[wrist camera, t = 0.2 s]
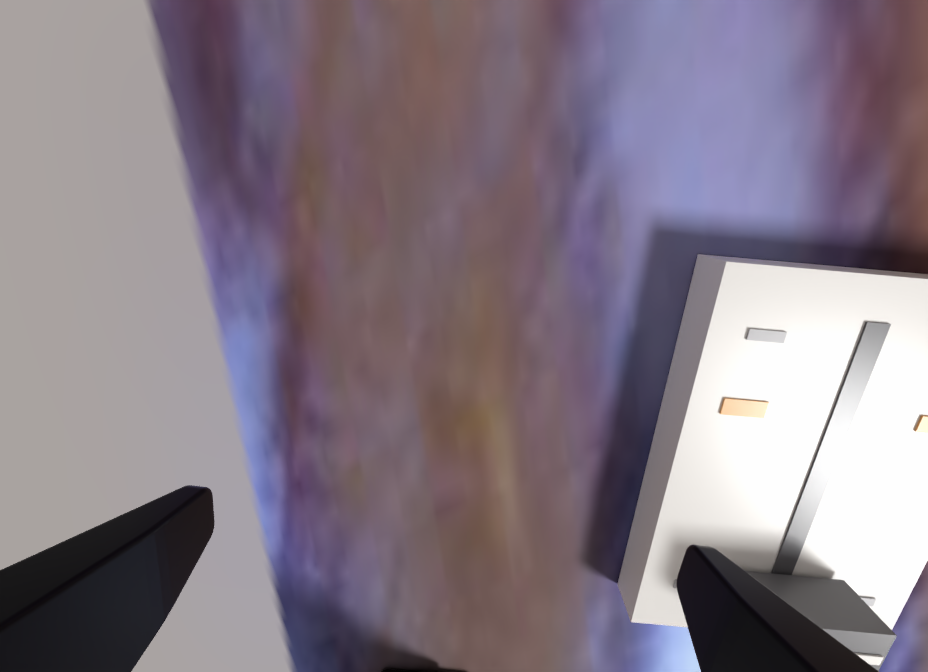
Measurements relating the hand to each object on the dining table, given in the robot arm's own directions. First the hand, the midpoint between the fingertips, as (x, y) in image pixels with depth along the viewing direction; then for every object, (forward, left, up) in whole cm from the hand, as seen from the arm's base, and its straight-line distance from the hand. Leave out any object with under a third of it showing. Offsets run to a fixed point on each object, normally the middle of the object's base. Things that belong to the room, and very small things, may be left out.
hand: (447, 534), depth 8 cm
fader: (-13, -18, -12) cm, 25 cm away
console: (-6, -18, -15) cm, 23 cm away
